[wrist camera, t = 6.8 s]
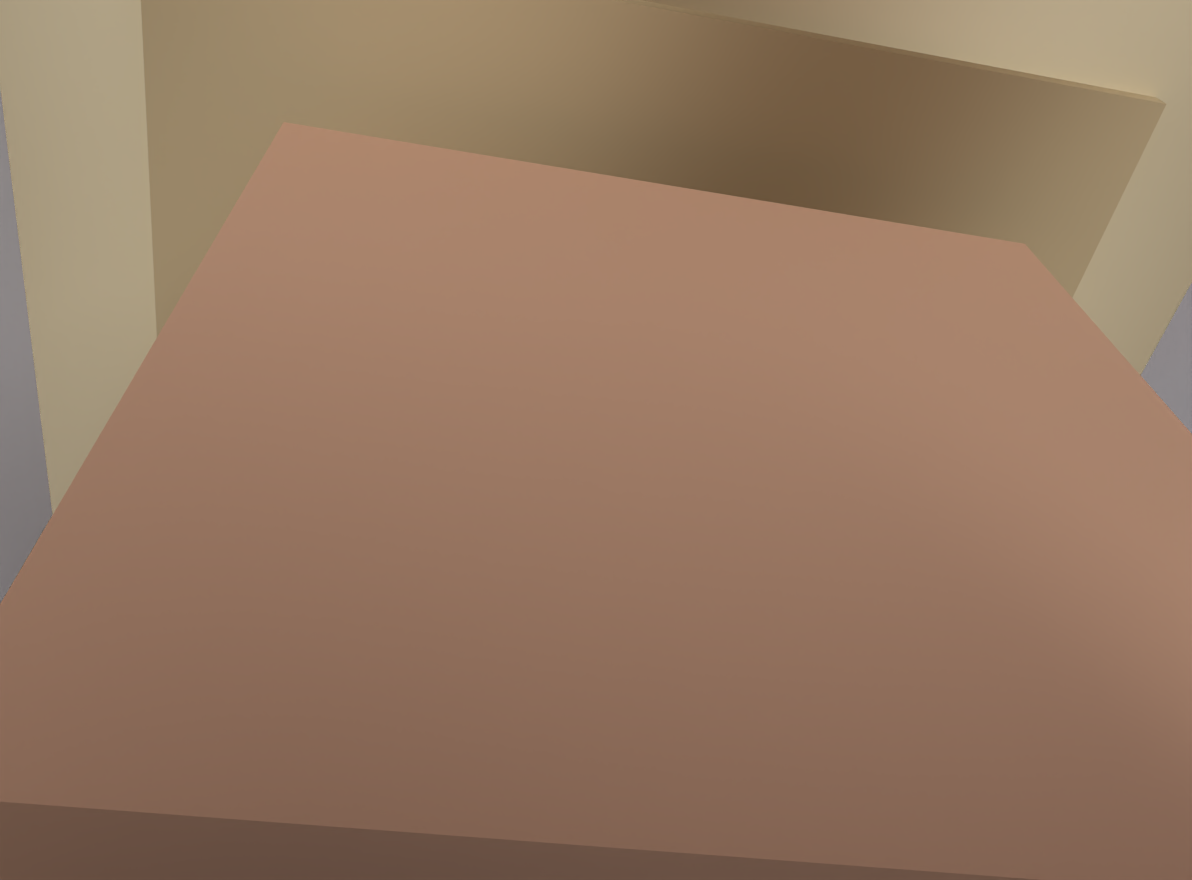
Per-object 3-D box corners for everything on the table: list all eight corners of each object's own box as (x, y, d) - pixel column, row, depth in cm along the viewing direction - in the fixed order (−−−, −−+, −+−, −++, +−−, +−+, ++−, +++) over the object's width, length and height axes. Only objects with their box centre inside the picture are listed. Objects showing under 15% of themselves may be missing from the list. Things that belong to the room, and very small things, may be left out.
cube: (1023, 244, 7) (1618, 923, 3) (811, 725, 10) (994, 1419, 6) (283, 121, 7) (-112, 795, 3) (270, 674, 10) (65, 1420, 5)
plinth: (1209, -75, 9) (1374, -19, 7) (861, 672, 14) (909, 814, 12) (74, -320, 8) (-62, -322, 6) (137, 598, 13) (74, 745, 11)
